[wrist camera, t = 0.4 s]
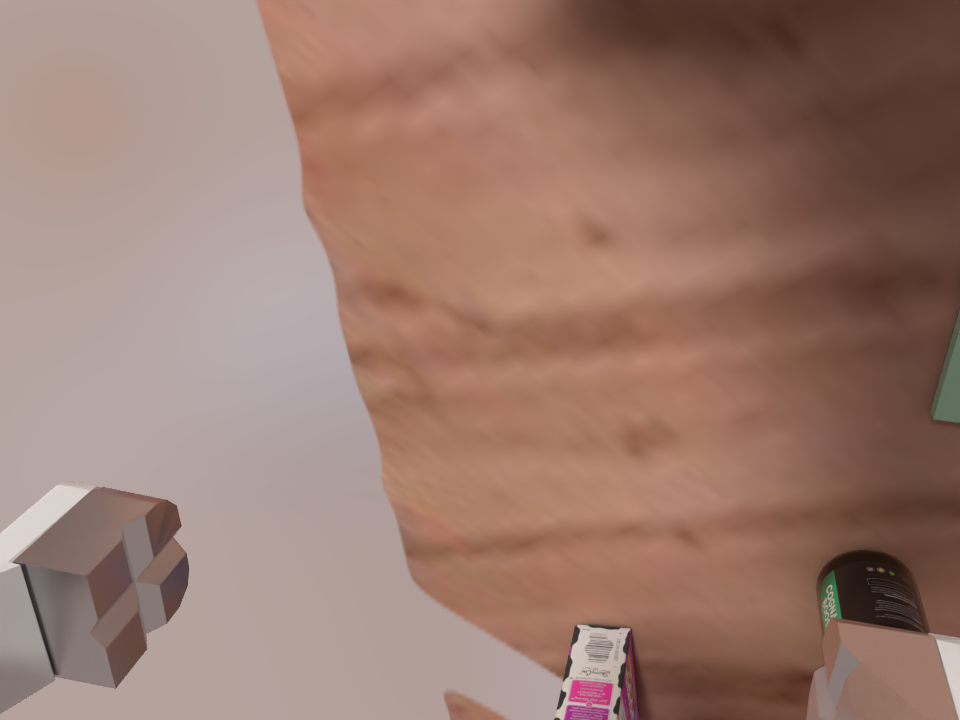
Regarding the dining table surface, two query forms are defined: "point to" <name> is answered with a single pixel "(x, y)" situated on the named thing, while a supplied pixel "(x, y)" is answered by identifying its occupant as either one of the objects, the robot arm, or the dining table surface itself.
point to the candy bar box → (599, 676)
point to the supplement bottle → (870, 592)
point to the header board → (949, 382)
